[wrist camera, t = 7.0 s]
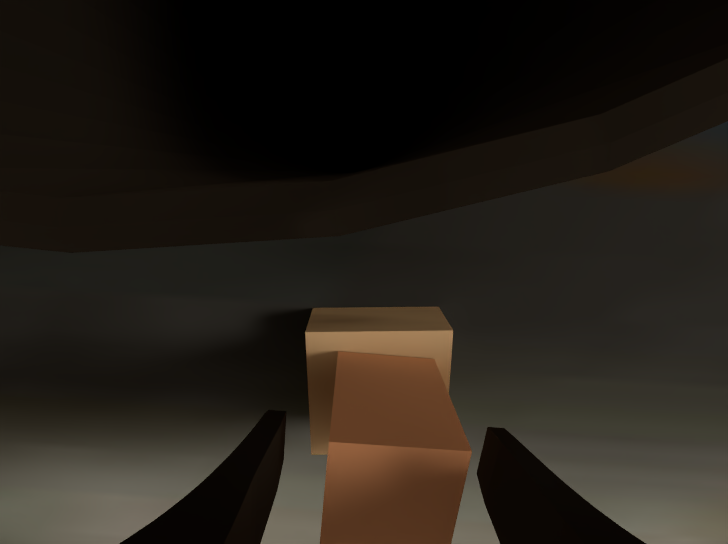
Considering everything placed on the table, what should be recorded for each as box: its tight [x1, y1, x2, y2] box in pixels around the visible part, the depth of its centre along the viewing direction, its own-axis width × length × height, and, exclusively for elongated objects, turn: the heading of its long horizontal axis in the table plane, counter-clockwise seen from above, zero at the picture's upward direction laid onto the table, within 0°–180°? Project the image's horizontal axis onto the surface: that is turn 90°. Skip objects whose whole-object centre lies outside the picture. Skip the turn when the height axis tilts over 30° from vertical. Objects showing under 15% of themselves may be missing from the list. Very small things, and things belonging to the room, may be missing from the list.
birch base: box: [305, 307, 453, 455], centre depth 17 cm, size 6×6×3 cm
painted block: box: [320, 351, 472, 544], centre depth 13 cm, size 4×4×5 cm
